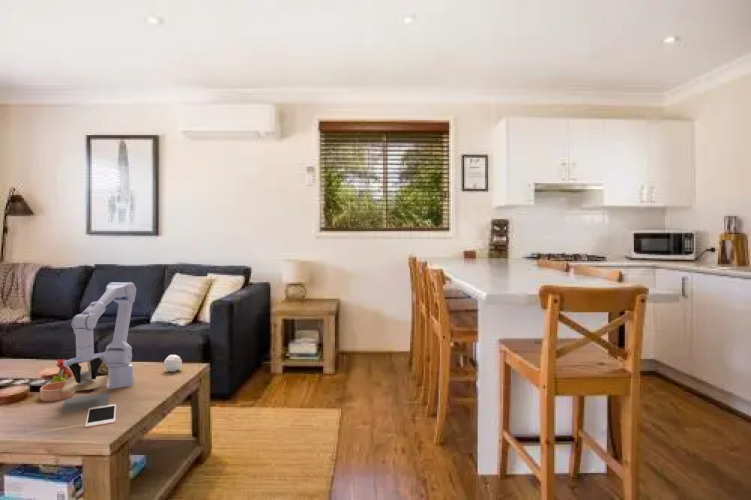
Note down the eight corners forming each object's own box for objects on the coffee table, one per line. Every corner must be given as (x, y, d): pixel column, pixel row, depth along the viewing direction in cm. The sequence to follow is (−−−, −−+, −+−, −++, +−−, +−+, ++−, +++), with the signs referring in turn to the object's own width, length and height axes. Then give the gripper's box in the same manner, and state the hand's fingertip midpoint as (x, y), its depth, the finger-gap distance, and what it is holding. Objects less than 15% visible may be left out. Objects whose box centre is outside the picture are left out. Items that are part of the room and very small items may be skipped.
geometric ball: (169, 377, 217) (157, 366, 214) (175, 367, 225) (164, 355, 222) (181, 370, 216) (170, 358, 213) (187, 360, 223) (176, 348, 220)
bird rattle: (55, 387, 202) (47, 385, 194) (58, 361, 206) (51, 358, 198) (71, 386, 204) (65, 384, 196) (74, 360, 208) (68, 357, 200)
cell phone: (85, 429, 157) (84, 426, 157) (88, 410, 173) (88, 407, 173) (115, 424, 161) (115, 421, 161) (116, 406, 177) (116, 403, 177)
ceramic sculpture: (94, 351, 220) (126, 353, 220) (94, 369, 221) (125, 371, 221) (80, 357, 210) (114, 359, 210) (80, 376, 210) (113, 378, 210)
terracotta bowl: (75, 390, 193) (75, 379, 193) (72, 399, 183) (72, 388, 183) (43, 394, 188) (43, 383, 188) (38, 403, 178) (37, 392, 178)
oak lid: (108, 376, 188) (108, 365, 188) (105, 387, 175) (105, 375, 175) (66, 381, 182) (66, 370, 181) (61, 393, 169) (60, 380, 169)
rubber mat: (110, 393, 189) (110, 392, 189) (107, 406, 175) (107, 405, 175) (66, 400, 182) (66, 398, 182) (60, 413, 169) (60, 412, 169)
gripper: (99, 340, 186) (100, 373, 187) (58, 348, 174) (60, 383, 175) (108, 342, 182) (109, 376, 183) (67, 350, 170) (68, 387, 171)
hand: (86, 380), depth 178 cm, fingers closed on oak lid, 5 cm apart
